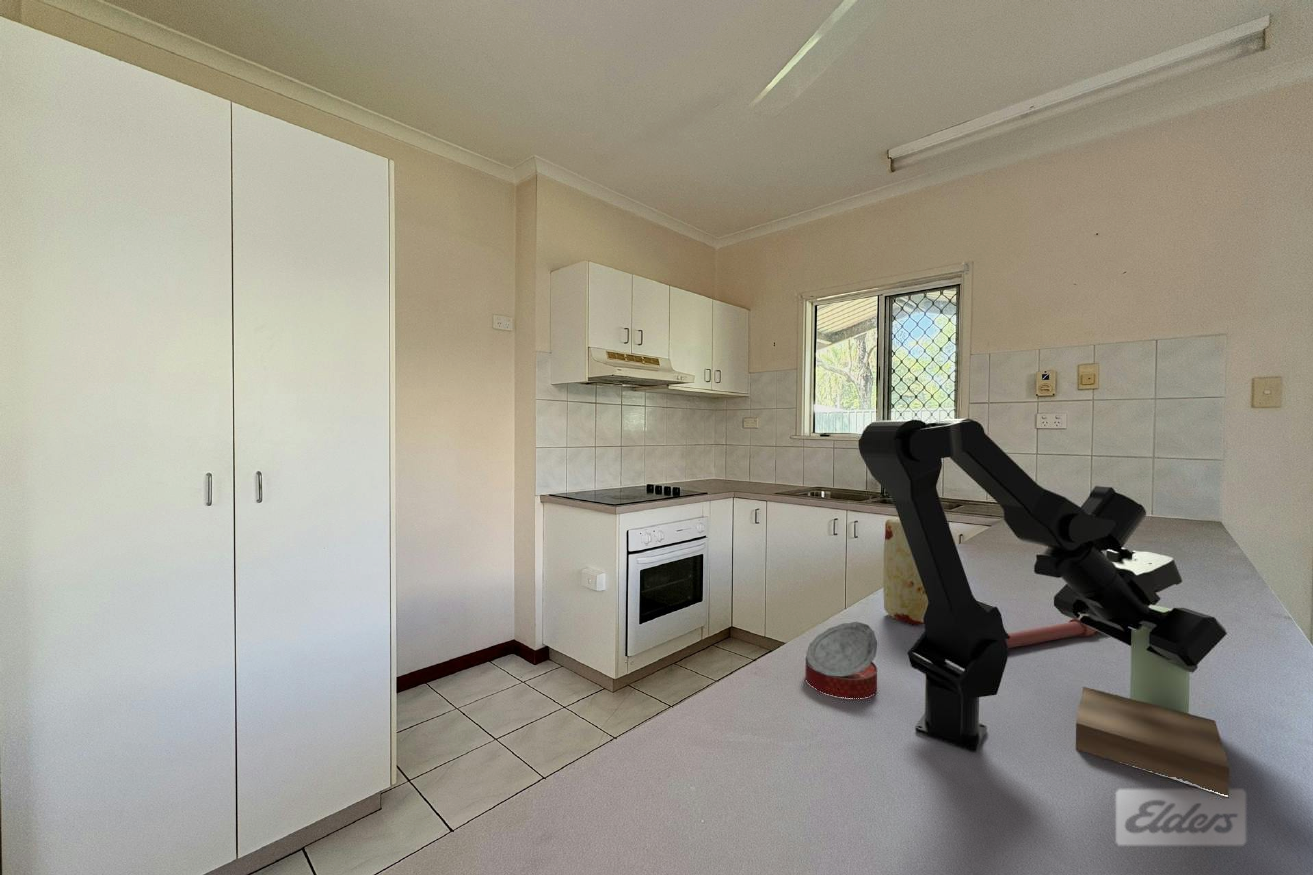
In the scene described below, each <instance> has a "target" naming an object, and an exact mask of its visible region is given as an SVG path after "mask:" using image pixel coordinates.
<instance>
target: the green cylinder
mask: <svg viewBox="0 0 1313 875" xmlns="http://www.w3.org/2000/svg"><path fill="white" fill-rule="evenodd" d="M1149 608H1151V609H1154V610H1157V611H1160V612H1163V613H1164V612H1167V611H1171V610H1172V609H1173V608H1169V607H1164V606H1160V605H1150V606H1149ZM1152 630H1153V629H1150V628H1148V627H1145V626H1142V627H1141V628H1140V629H1139V630H1137V631H1136V630H1133V629H1132V631H1131V646H1130V678H1129V679H1130V681H1129V686H1130V687H1129V689H1130V690H1129V699H1133V700H1137V701H1141V702H1145V703H1149V704H1153V705H1157V706H1160V707H1164V708H1168V709H1172V710H1176V711H1180V712H1184V713H1188V714H1190V680H1191V678H1190V675H1191V672H1189V671H1187V670H1185V669H1183V668H1181V667H1179V666H1177V665H1175V664H1173V663H1171V662H1169V661H1167V660H1165V659H1163V658H1161V657H1159V656H1157V655H1155V654H1153V653H1151V652H1149V651H1147V650H1146V649H1147V648H1148V647H1149V646H1150V644H1149V633H1150V632H1151V631H1152Z"/></svg>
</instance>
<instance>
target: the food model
mask: <svg viewBox="0 0 1313 875" xmlns="http://www.w3.org/2000/svg"><path fill="white" fill-rule="evenodd" d="M884 526H885V527H884V532H885V533H884V542H883V558H882V559H883V568H882V569H883V574H882V577H883V578H882V582H883V583H882V588H883V589H882V590H883V593H882V594H883V608H884V611H885V612H886V613H887V614H888V615H889V616H890V617H892V618H893V619H896V620H898V621H900V622H903V623H905V624H909V625H911V626H920V625H924V621H923V616H924V613H925V610H926V607H927V604H928V598H927V595H926V593H925V590H924V587H923V584H922V581H921V578H920V576H919V573H918V570H917V567H916V564H915V561H914V559H913V556H912V553H911V550H910V547H909V544H908V542H907V539H906V536H905V533H904V530H903V527H902V525H901V522H900V519H899V517H896V518H889V519H887V520H886V521H885V525H884Z"/></svg>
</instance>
